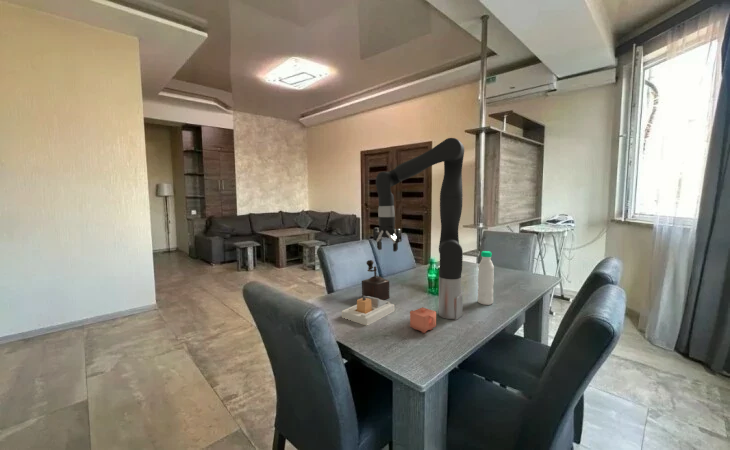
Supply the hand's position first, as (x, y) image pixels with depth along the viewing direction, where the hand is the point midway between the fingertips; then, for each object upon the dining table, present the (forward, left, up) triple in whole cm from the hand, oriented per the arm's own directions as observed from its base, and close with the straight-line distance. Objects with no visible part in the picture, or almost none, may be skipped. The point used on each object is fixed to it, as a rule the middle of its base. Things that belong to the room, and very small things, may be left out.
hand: (387, 250), depth 151 cm
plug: (+1, +17, -26) cm, 31 cm away
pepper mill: (+14, -7, -27) cm, 31 cm away
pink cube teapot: (-25, +12, -27) cm, 39 cm away
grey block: (+1, +8, -24) cm, 25 cm away
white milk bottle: (-35, -32, -27) cm, 54 cm away
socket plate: (+1, +13, -27) cm, 30 cm away
